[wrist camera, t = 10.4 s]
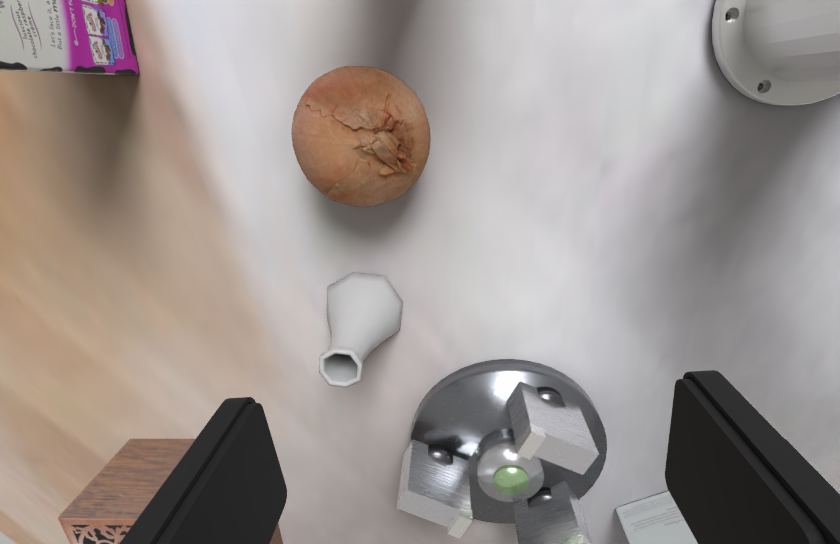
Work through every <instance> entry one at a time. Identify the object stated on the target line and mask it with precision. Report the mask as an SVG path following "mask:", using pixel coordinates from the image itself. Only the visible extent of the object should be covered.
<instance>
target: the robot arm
mask: <svg viewBox="0 0 840 544" xmlns="http://www.w3.org/2000/svg"><path fill="white" fill-rule="evenodd" d="M726 13H727V14H728V18H727V20H726V18H725V15H726ZM712 43H713V48H714V52H715V57H716V60H717V62H718V64H719V67H720V69H721V71H722V73H723V75H724V76H725V77H726V78H727V80H728V81H729V82H730V83H731V85H732V86H733V87H734V88H736V89H737V90H738V91H740V92H741V93H742V94H743V95H745V96H747V97H749V98H751V99H754V100H756V101H758V102H761V103H767V104H772V105H787V106H794V105H803V104H811V103H815V102H818V101H821V100H825V99H828V98H831V97H833V96H835V95H837V94H839V93H840V0H716V2H715V6H714V13H713V19H712ZM758 85H759V88H757V87H758ZM665 479H666V484H667V487H668V490H669V492H670V494H671V496H672V498H673V499H674V501H675V503H676V505H677V507H678V508H679V510H680V512H681V514H682V516H683V517H684V519H685V521H686V523H687V525H688V527H689V528H690V530H691V532H692V534H693V536H694V537H695V539H696V541H697V543H698V544H840V494H839V493H838V492H837V491H836V490H835V489H834V488H833V487H832V486H831V485H830V484H829V483H828V482H827V481H826V480H825V479H824V478H823V477H822V476H821V475H820V474H819V473H818V472H817V471H816V470H815V469H814V468H813V467H812V466H811V465H810V464H809V463H808V462H807V461H806V460H805V459H804V458H803V456H802V455H801V454H800V453H799V452H798V451H797V450H796V449H795V448H794V447H793V446H792V445H791V444H790V443H789V442H788V441H787V440H785V439H784V438H783V437H782V436H781V435H780V434H779V433H778V432H777V431H776V430H775V429H774V428H773V427H772V426H771V425H770V424H769V423H768V422H767V421H766V420H765V419H764V418H763V417H762V416H761V415H760V414H759V412H758V411H757V410H756V409H755V408H754V407H753V406H752V405H751V404H750V403H749V402H748V401H747V400H746V399H745V398H744V397H743V396H742V395H741V394H740V393H739V392H738V391H737V390H736V389H735V388H734V387H733V386H732V385H731V384H730V383H729V382H728V381H727V380H726V378H725V377H724V376H723V375H722V374H720V373H719V372H718V371H714V370H713V371H695V372H687V373H685V374H684V376H683V379H679V380H677V381H676V384H675V391H674V399H673V408H672V417H671V426H670V434H669V443H668V452H667V461H666V470H665ZM286 498H287V488H286V484H285V481H284V478H283V474H282V471H281V467H280V464H279V461H278V457H277V454H276V451H275V447H274V444H273V440H272V437H271V434H270V430H269V427H268V424H267V420H266V417H265V413H264V410H263V407H262V405H261V404H260V403H256V402H255V400H254V399H253V398H251V397H246V398H229V399H226V400H225V401H224V402H223V403H222V404H221V406H220V407H219V408H218V410H217V411H216V412H215V414H214V415H213V416H212V418H211V419H210V421H209V422H208V423H207V425H206V426H205V427H204V429H203V430H202V431H201V433H200V434H199V436H198V437H197V438H196V440H195V441H194V442H193V444H192V445H191V446H190V448H189V449H188V451H187V452H186V453H185V455H184V456H183V457H182V459H181V460H180V461H179V463H178V464H177V466H176V467H175V468H174V470H173V471H172V472H171V474H170V475H169V476H168V478H167V479H166V481H165V482H164V483H163V485H162V486H161V487H160V489H159V490H158V491H157V493H156V494H155V496H154V497H153V498H152V500H151V501H150V502H149V504H148V505H147V506H146V508H145V509H144V511H143V512H142V513H141V515H140V516H139V517H138V519H137V520H136V521H135V523H134V524H133V526H132V527H131V528H130V530H129V531H128V532H127V534H126V535H125V536H124V538H123V539H122V541H121V542H120V543H119V544H270V541H271V539H272V536H273V534H274V531H275V529H276V526H277V524H278V521H279V519H280V516H281V514H282V511H283V509H284V506H285V503H286Z"/></svg>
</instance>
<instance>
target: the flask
mask: <svg viewBox="0 0 840 544" xmlns="http://www.w3.org/2000/svg"><path fill="white" fill-rule="evenodd" d="M402 303H403V301H402V300H401V298H400V297H399V295H398V294H397V292H396V291H395V289H394V288H393V286H392V285H391V283H390V282H389V280H388V279H387V277H386V276H381V275H372V274H364V273H355V272H353V273H352V274H350V275H348V276H346V277H344V278H343V279H341V280H339V281H337V282H336V283H334V284H332V285H330V286H328V290H327V319H328V324H329V328H330V335H331V342H330V346H329V348H328V351H327V352H325V353H323V354H322V355H320V359H319V373H320V374H321V375H322V377H323V378H324V379H325V380H326V382H327V383H328V384H329V385H331V386H339V387H348V386H350V385H352V384H355V383H357V382H359V381H361V379H362V363H363V361H364V360H365V358H366V357H367V356H368V354H369V353H370V352H371V351H372V350H373V349H374V348H376V347H377V346H378V345H379V344H381V343H382V342H383V341H384V340H386V339H387V338H389V337H390V336H392V335H393V334H394V333H396V332H397V331H398V330H400V324H401V314H402Z"/></svg>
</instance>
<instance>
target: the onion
mask: <svg viewBox="0 0 840 544" xmlns="http://www.w3.org/2000/svg"><path fill="white" fill-rule="evenodd" d="M292 141H293V147H294V151H295V154H296V158H297V161H298V163H299V165H300V167H301V169H302V171H303V173H304V174H305V176H306V178H307V179H308V180H309V181H310V182H311V184H312V185H313V186H314V187H316V188H317V189H318V190H319V191H321V192H322V193H323V194H325V195H326V196H328V197H329V198H331V199H334V201H336V202H338V203H343V204H348V205H352V206H360V207H370V206H375V205H380V204H383V203H386V202H389V201H392V200H394V199H396V198H398V197H399V196H401V195H402V194H404V193H405V192H406V191H407V190H408V189H409V188H410V187H411V186H412V185H413V184H414V183H415V182H416V181H417V179H418V178H419V177H420V175H421V173H422V171H423V169H424V167H425V164H426V161H427V158H428V155H429V149H430V128H429V123H428V119H427V116H426V113H425V110H424V108H423V106H422V104H421V102H420V100H419V99H418V97H417V95H416V94H415V92H414V91H412V90H411V89H410V88H409V87H408V86H407V85H406V84H405V83H404V82H403V81H401V80H400V79H398V78H397V77H395V76H393V75H392V74H390V73H388V72H386V71H383V70H380V69H376V68H372V67H365V66H345V67H341V68H338V69H335V70H333V71H331V72H328V73H326V74H324V75H323V76H321V77H319V78H318V79H316V80H315V81H314V82H313V83H312V84H311V85H310V86H309V87H308V89H307V90H306V91H305V93H304V94H303V96H302V97H301V99H300V101H299V103H298V105H297V109H296V111H295V113H294V118H293V124H292Z"/></svg>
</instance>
